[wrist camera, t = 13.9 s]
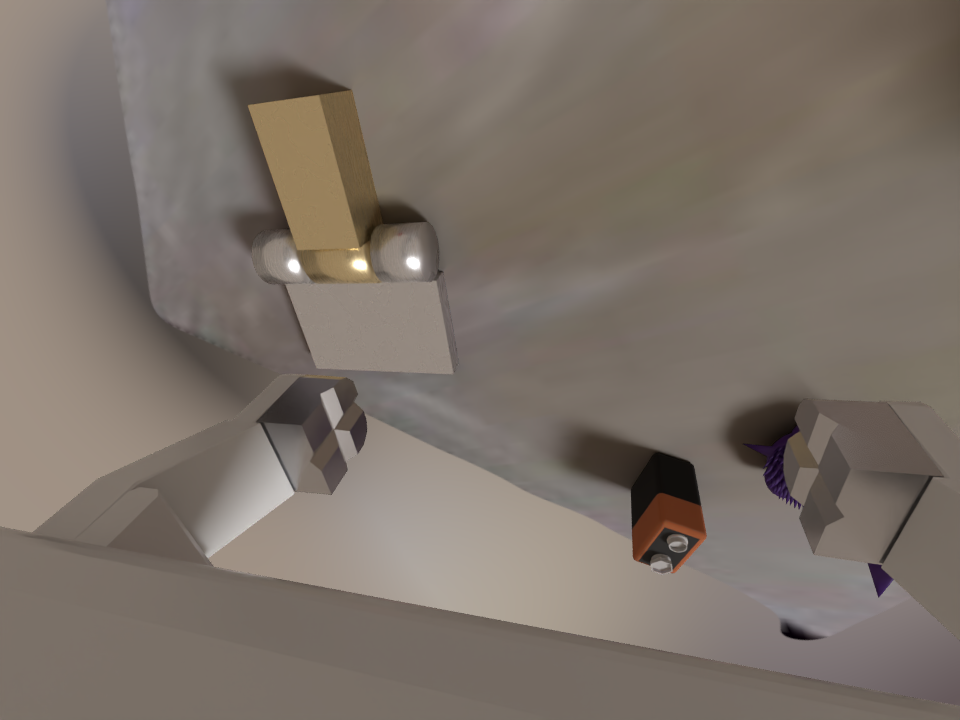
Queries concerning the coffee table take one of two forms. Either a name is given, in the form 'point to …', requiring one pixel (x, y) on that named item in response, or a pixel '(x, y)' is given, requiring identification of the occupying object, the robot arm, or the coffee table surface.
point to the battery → (666, 514)
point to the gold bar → (322, 182)
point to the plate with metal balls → (371, 303)
